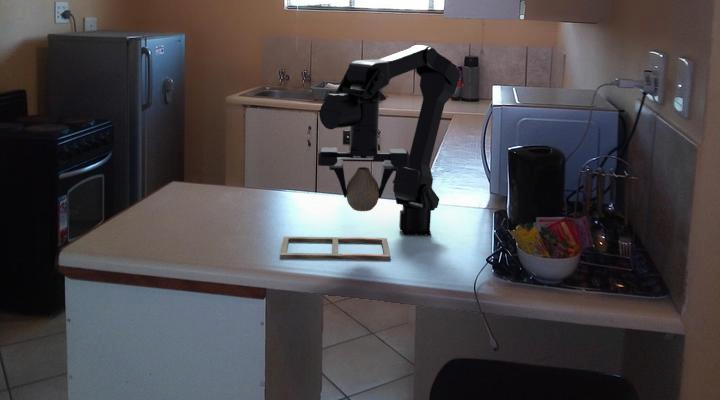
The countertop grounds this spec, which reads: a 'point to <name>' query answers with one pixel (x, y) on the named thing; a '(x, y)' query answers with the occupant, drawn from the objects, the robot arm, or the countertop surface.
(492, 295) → the countertop surface
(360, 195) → the vase
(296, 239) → the rail frame
